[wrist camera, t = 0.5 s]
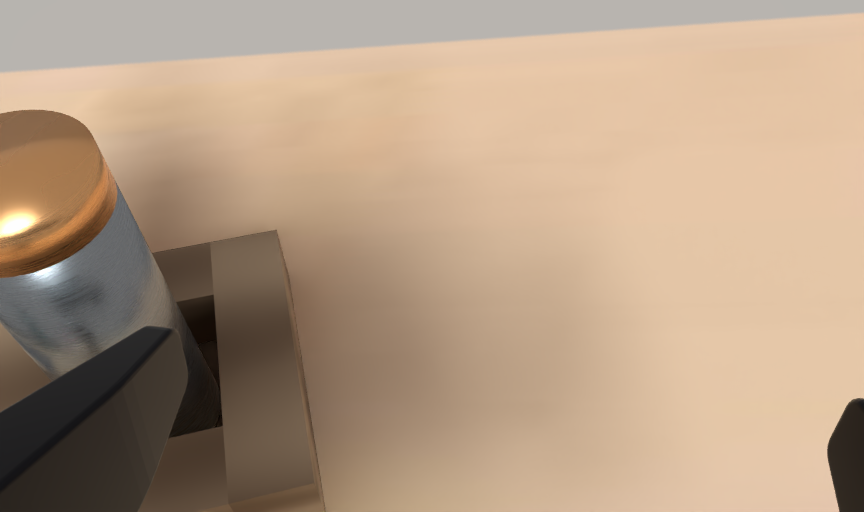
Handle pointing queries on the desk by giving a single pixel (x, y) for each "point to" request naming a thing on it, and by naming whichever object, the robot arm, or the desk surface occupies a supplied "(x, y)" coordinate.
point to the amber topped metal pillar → (81, 259)
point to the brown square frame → (226, 385)
